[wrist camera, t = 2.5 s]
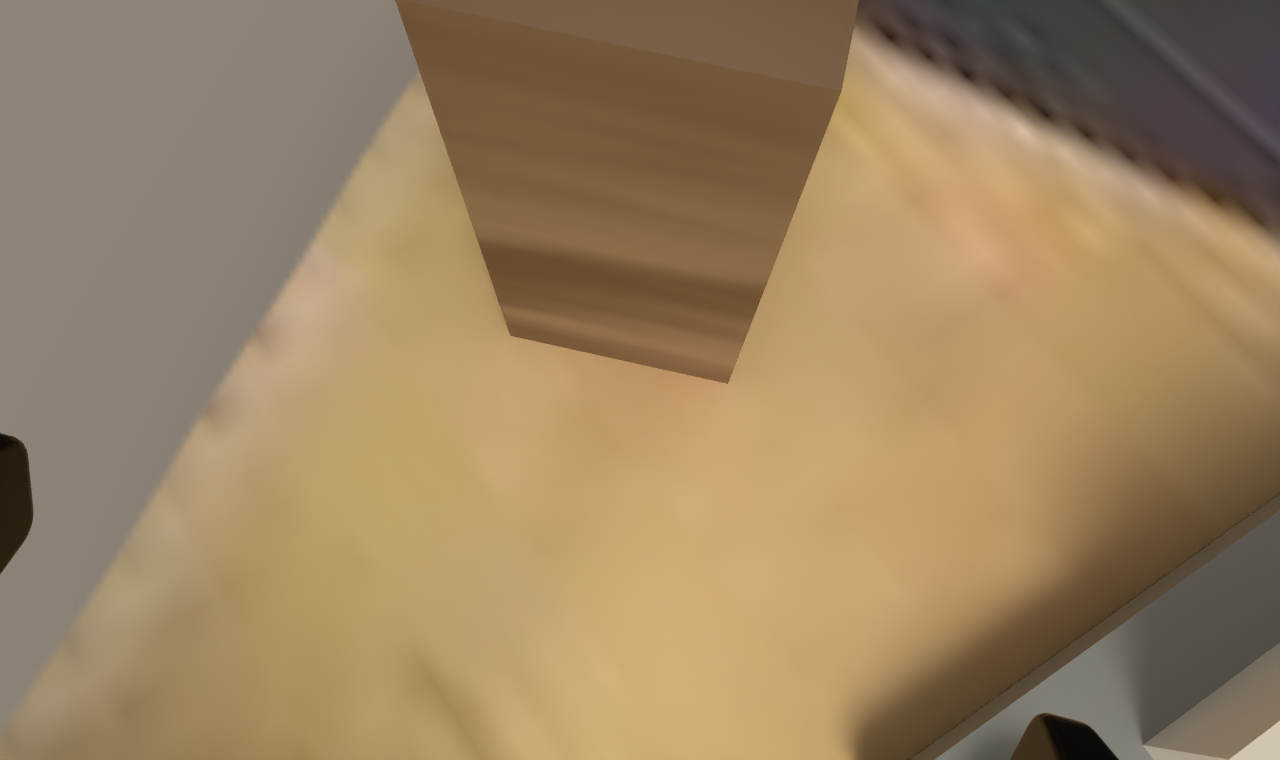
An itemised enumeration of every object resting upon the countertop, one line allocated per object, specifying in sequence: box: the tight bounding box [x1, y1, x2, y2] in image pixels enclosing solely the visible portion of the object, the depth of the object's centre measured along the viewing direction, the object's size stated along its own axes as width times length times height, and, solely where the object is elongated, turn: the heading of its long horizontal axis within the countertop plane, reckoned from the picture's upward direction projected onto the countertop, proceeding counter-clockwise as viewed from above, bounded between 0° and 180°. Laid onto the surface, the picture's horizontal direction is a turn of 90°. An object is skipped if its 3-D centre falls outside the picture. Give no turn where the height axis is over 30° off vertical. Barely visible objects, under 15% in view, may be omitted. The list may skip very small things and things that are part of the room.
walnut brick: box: [395, 0, 859, 383], centre depth 18 cm, size 5×5×12 cm
